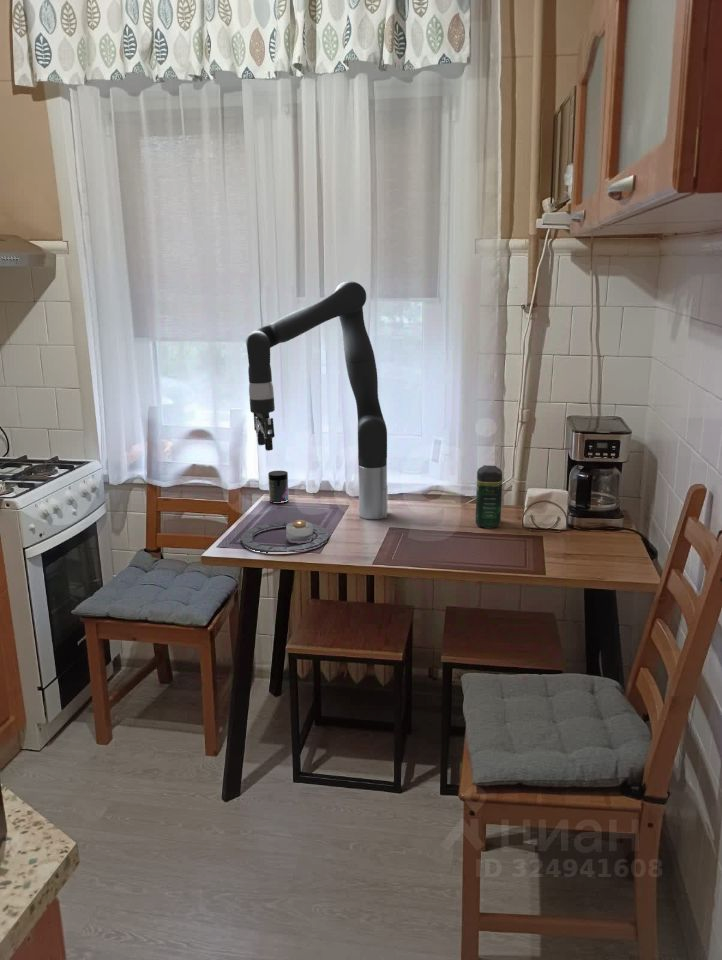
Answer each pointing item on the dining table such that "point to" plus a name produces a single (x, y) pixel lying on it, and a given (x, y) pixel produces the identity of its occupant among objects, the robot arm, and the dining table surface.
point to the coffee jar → (488, 496)
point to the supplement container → (278, 486)
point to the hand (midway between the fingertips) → (265, 447)
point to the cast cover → (299, 530)
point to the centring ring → (252, 545)
